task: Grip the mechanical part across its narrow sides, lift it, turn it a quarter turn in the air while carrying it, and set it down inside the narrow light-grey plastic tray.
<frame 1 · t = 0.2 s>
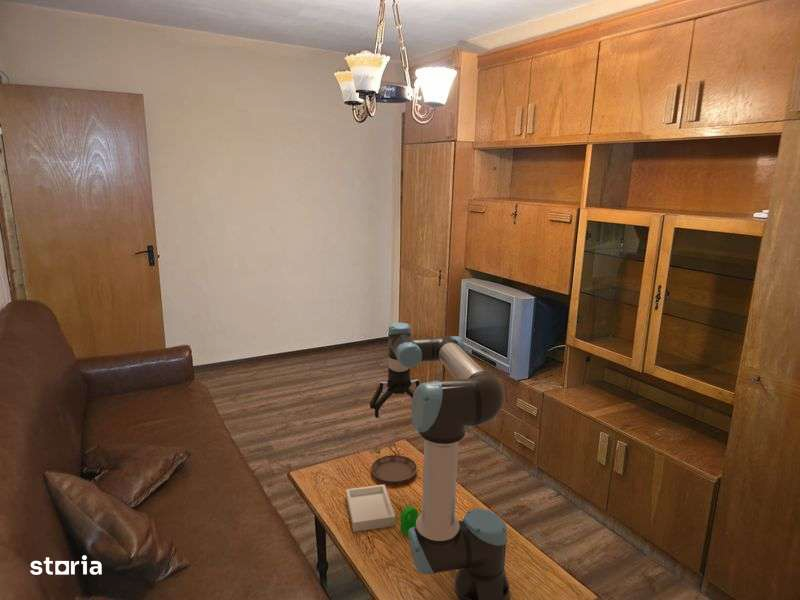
hand: (398, 424, 181), 27 cm above the table, tool pointing down, fingers open, 13 cm apart
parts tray: (369, 511, 178), on the table
plant saucer: (393, 474, 199), on the table
mechanical part: (420, 528, 170), on the table
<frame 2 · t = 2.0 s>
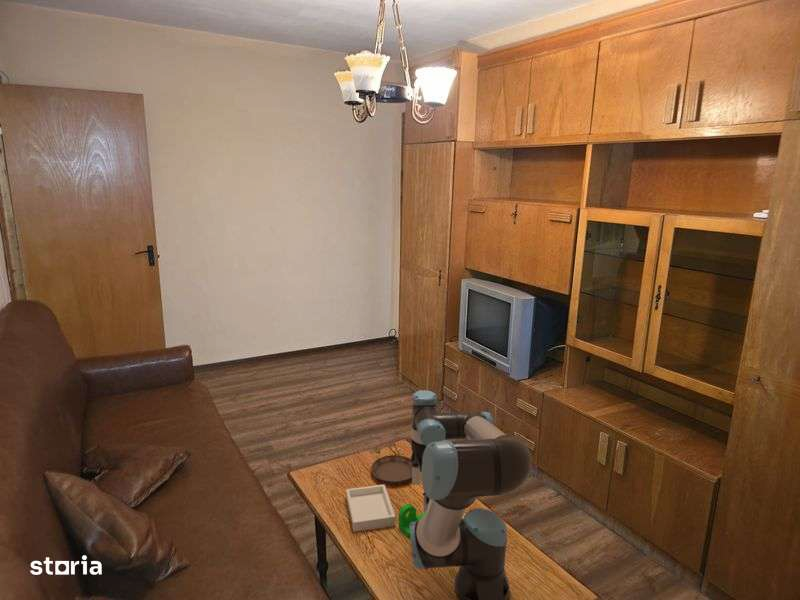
hand: (421, 496, 167), 12 cm above the table, tool pointing down, fingers open, 13 cm apart
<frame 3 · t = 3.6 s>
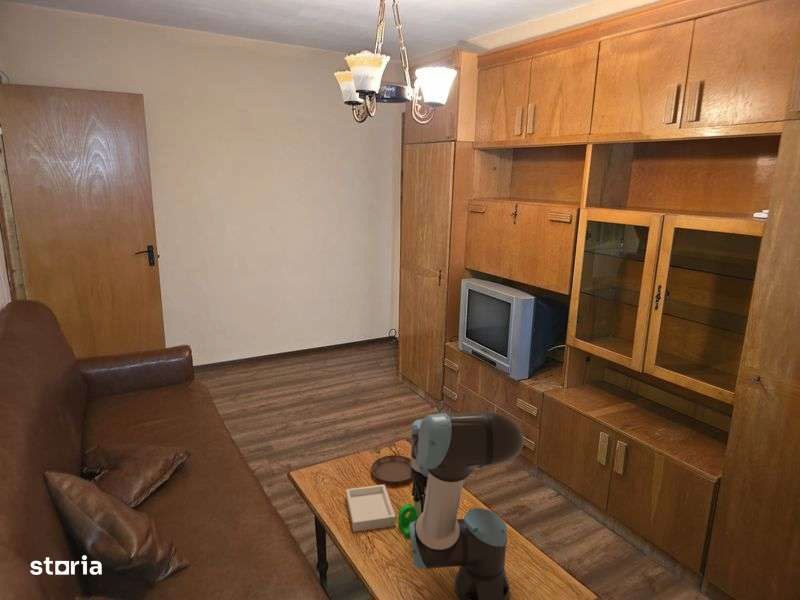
hand: (420, 527, 170), 0 cm above the table, tool pointing down, fingers open, 8 cm apart
mechanical part: (418, 528, 170), on the table, touching gripper
everything else where it was.
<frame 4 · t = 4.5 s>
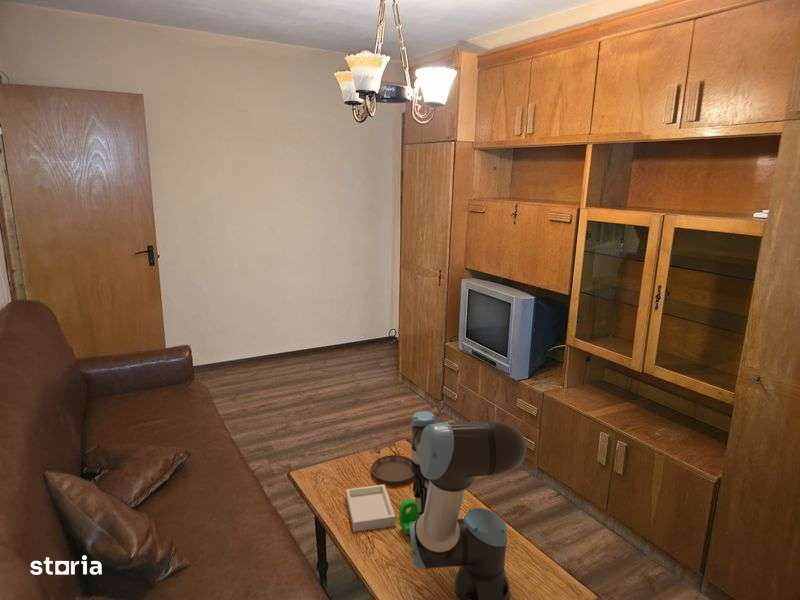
hand: (421, 522, 169), 3 cm above the table, tool pointing down, fingers closed on mechanical part, 6 cm apart
mechanical part: (419, 524, 168), point 2 cm above the table, touching gripper
everything else where it was.
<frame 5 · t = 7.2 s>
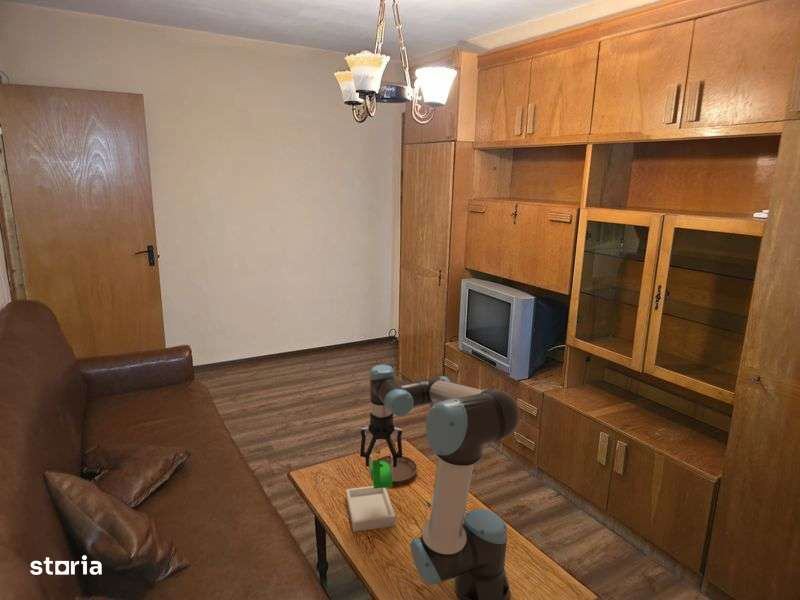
hand: (381, 474, 172), 15 cm above the table, tool pointing down, fingers closed on mechanical part, 6 cm apart
mechanical part: (381, 477, 172), point 15 cm above the table, touching gripper
everything else where it was.
when the fingers open (3 cm above the table, at t = 10.3 s): mechanical part drops 2 cm, resting on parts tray.
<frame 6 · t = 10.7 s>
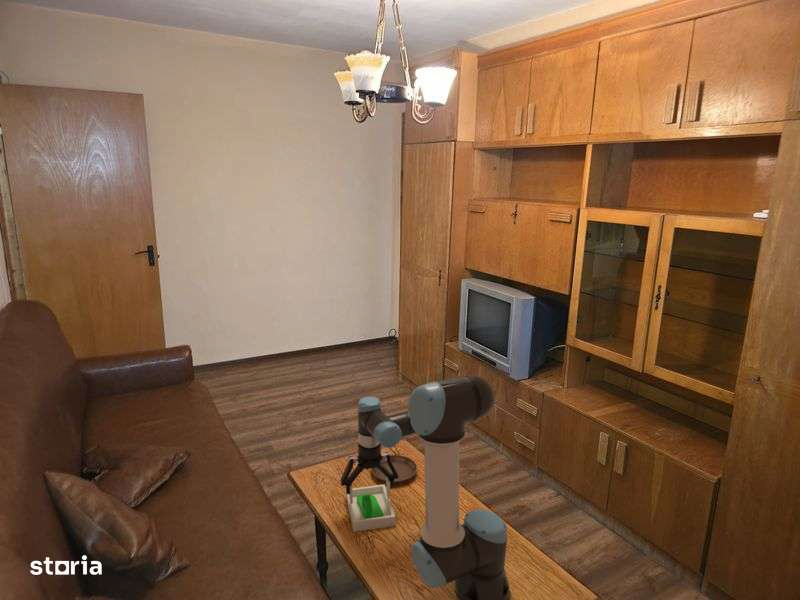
hand: (369, 498, 176), 5 cm above the table, tool pointing down, fingers open, 12 cm apart
mechanical part: (369, 510, 177), point 1 cm above the table, touching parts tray
everything else where it was.
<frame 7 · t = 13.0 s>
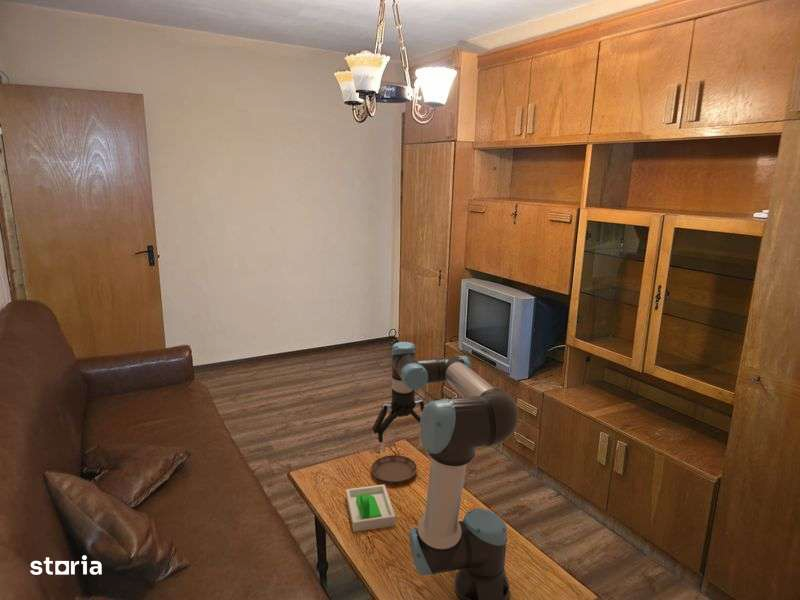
hand: (402, 447, 174), 23 cm above the table, tool pointing down, fingers open, 13 cm apart
nothing on the table moved.
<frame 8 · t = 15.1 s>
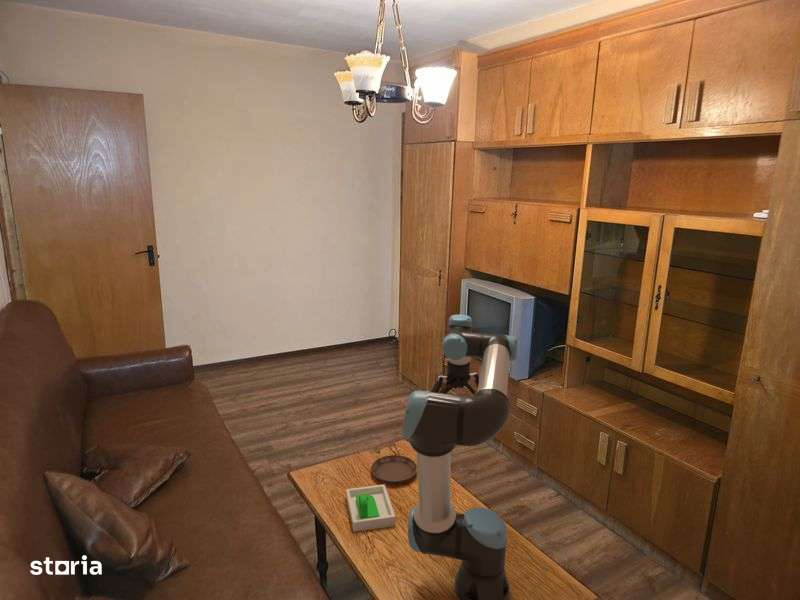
hand: (456, 419, 176), 32 cm above the table, tool pointing down, fingers open, 13 cm apart
nothing on the table moved.
at the end: mechanical part inside the target area on the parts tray (1.1 cm from its centre), point 0.8 cm above the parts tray's base; mechanical part tilted 0°; the gripper is holding nothing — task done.
